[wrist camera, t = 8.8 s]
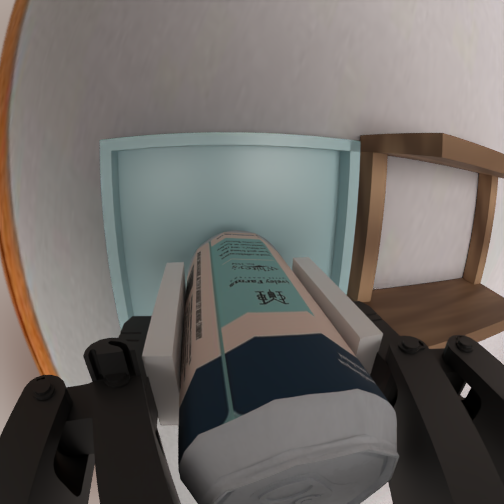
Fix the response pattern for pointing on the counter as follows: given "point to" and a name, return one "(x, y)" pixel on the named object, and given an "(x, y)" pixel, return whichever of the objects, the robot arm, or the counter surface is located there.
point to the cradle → (436, 293)
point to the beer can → (272, 388)
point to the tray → (223, 202)
